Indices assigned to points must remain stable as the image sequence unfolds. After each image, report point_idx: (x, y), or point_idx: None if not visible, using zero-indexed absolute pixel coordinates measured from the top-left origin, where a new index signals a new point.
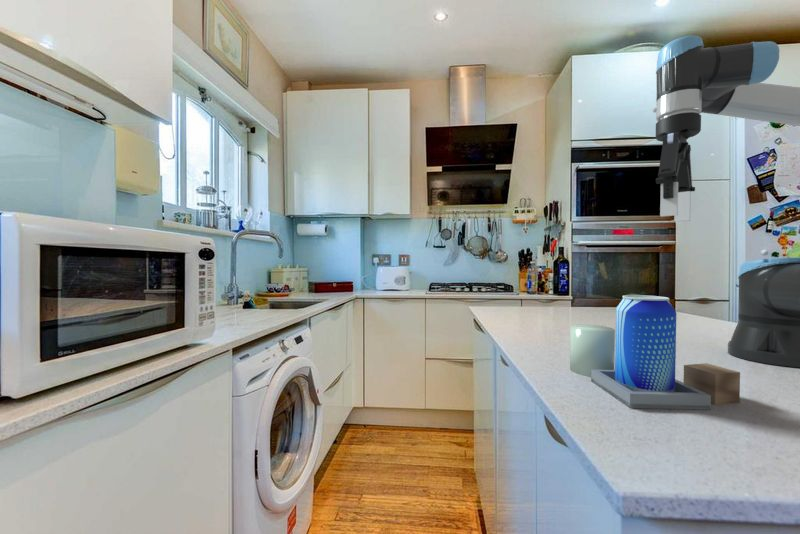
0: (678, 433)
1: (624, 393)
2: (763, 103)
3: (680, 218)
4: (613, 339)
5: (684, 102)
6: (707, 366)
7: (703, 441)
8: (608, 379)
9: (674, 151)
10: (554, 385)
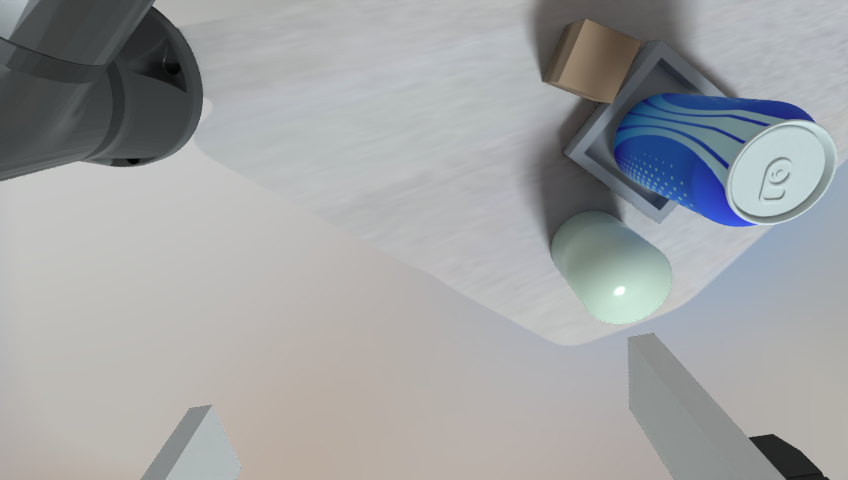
0: (792, 34)
1: None
2: None
3: (223, 456)
4: (618, 235)
5: None
6: (587, 72)
7: (798, 3)
8: None
9: None
10: (718, 236)
